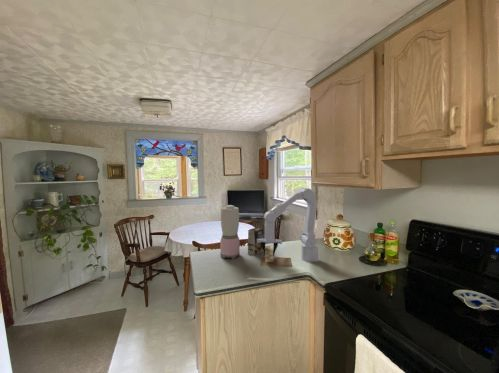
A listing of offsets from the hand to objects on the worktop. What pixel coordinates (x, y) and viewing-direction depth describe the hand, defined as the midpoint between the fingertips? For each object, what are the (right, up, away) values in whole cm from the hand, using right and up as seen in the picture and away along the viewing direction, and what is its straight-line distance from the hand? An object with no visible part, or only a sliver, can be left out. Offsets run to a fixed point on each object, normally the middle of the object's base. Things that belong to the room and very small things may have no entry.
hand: (269, 255), depth 129 cm
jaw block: (0, -2, 0) cm, 2 cm away
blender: (-24, -4, +12) cm, 27 cm away
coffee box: (-7, -4, +15) cm, 17 cm away
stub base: (+4, -5, 0) cm, 6 cm away
